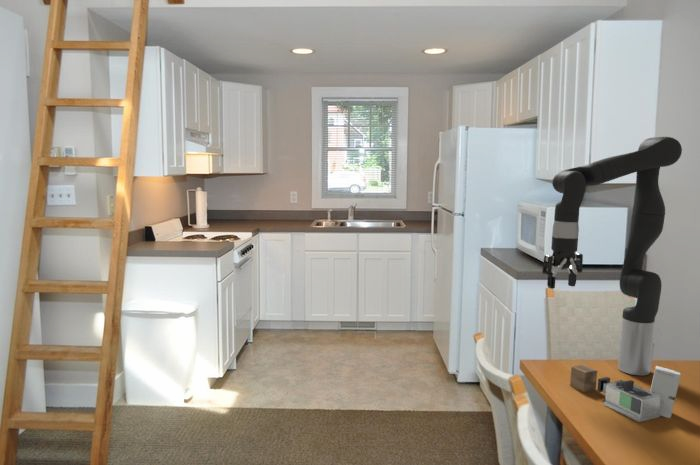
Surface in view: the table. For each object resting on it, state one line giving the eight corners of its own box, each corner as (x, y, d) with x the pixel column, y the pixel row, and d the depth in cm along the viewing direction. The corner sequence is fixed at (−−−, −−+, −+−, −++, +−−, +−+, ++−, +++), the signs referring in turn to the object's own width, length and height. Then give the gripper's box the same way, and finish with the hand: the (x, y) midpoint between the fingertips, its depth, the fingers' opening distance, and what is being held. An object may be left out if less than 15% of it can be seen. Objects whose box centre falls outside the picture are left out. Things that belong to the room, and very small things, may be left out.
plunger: (606, 388, 156) (607, 370, 156) (635, 402, 148) (637, 382, 147) (592, 391, 154) (593, 372, 153) (621, 405, 146) (622, 385, 145)
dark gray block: (630, 389, 145) (630, 380, 145) (633, 390, 144) (633, 381, 144) (623, 390, 144) (624, 381, 144) (626, 392, 143) (627, 382, 143)
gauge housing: (623, 400, 154) (625, 380, 153) (659, 416, 144) (662, 395, 143) (603, 404, 150) (605, 384, 150) (639, 422, 141) (641, 400, 140)
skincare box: (645, 411, 146) (654, 368, 145) (646, 407, 150) (654, 365, 149) (671, 419, 143) (681, 374, 142) (671, 415, 147) (680, 371, 146)
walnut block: (582, 383, 165) (583, 364, 165) (595, 389, 161) (597, 370, 160) (570, 385, 163) (571, 366, 163) (583, 392, 159) (585, 372, 158)
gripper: (572, 233, 174) (568, 283, 176) (538, 235, 168) (535, 286, 170) (591, 236, 167) (587, 288, 169) (557, 238, 161) (553, 291, 163)
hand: (561, 287), depth 170 cm, fingers open, 8 cm apart
